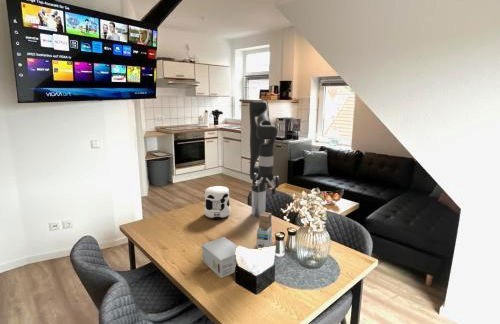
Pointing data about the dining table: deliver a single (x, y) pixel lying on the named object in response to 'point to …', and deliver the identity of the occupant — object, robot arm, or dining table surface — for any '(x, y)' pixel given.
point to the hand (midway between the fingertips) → (265, 193)
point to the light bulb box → (264, 237)
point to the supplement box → (220, 256)
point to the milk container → (217, 202)
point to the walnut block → (265, 220)
